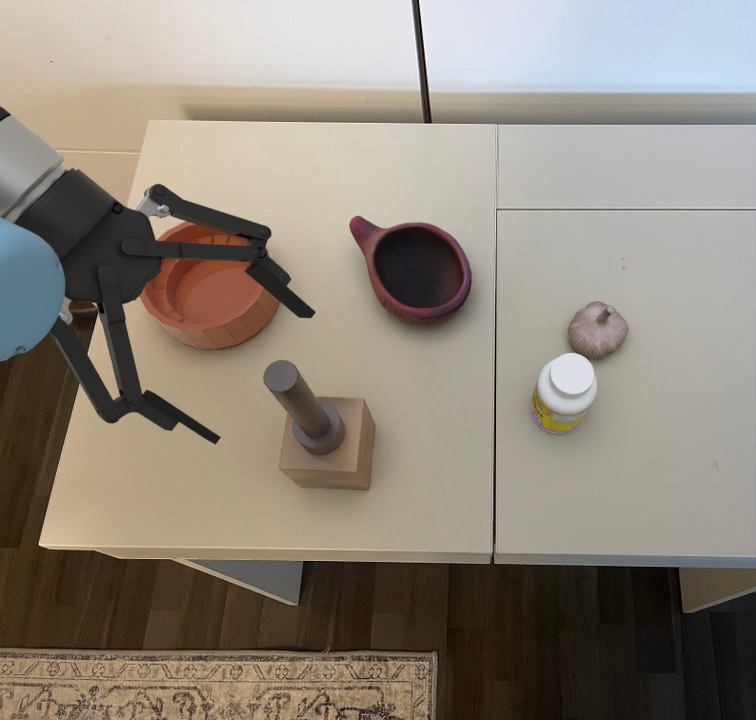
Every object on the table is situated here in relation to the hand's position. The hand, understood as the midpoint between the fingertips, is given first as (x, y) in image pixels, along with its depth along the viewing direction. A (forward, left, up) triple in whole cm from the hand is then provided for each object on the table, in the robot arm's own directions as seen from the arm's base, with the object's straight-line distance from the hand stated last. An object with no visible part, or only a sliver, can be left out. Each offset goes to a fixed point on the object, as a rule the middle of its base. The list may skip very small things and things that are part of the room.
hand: (262, 374), depth 58 cm
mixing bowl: (-1, +24, -22) cm, 32 cm away
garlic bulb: (+36, -8, -22) cm, 44 cm away
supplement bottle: (+26, -13, -22) cm, 37 cm away
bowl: (+20, +11, -22) cm, 32 cm away
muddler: (+1, -3, -12) cm, 13 cm away
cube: (+1, -3, -22) cm, 22 cm away
